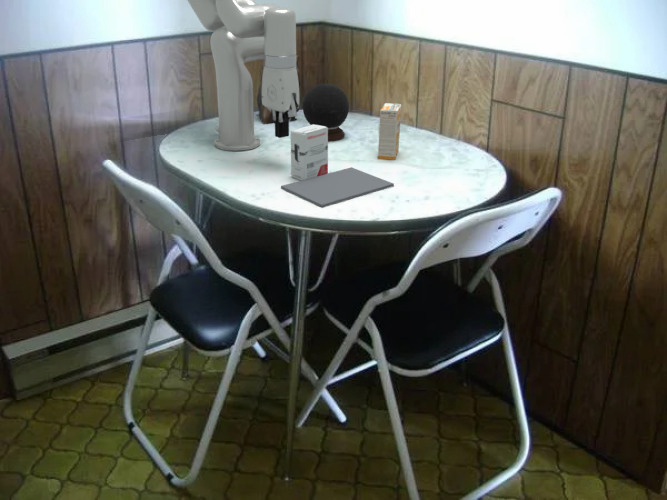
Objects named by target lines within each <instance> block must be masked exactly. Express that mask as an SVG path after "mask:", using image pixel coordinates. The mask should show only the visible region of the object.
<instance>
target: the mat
mask: <svg viewBox="0 0 667 500" xmlns="http://www.w3.org/2000/svg"><path fill="white" fill-rule="evenodd" d="M394 184H395V183H393V182H390V181H388V180H385V179H384V178H383V179H382V178H380V177H377V176H375V175H373V174H370V173H368V172H365V171H362V170H360V169H357V168H355V167H348V168H343V169H340V170H337V171H333V172H328V173H327V174H324V175H320V176H317V177H313V178H309V179H305V180H299V181H295V182H290V183H287V184H283V185H281V186H280V189H282V190H284V191H286V192H288V193H290V194H293V195H295V196H297V197H298V198H300V199H303V200H305V201H307V202H310V203H311V204H313V205H316V206H318V207H320V208H325V207H328V206H332V205H335V204H338V203H341V202H346V201H348V200H351V199H354V198H359V197H362V196H365V195H369V194H371V193H374V192H378V191H381V190H385V189H389V188H392V187H394Z"/></svg>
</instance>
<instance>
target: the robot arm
mask: <svg viewBox="0 0 667 500" xmlns="http://www.w3.org/2000/svg"><path fill="white" fill-rule="evenodd" d="M187 1H188V3H189V5H190V7H191V9H192V11H193V12H194V13H195V15H196V18H198V21H199V23H201V25H202V26H203V28H204V29H206V30H207V31H208V32H210V33H211V32H212V34H211V37H210V42H209V43H210V49H211V54H212V58H213V62H214V69H215V70H214V71H215V78H216V93H217V109H218V110H217V111H218V126H215V131H216V132H218V137H217V138H215V139H214V140H213V143H214V147H216V148H217V149H220V150H224V151H232V152H234V151H235V152H237V151H249V150H252V149H255V148H259V146H260V145H261V139H260V138H259V137H258V136H255V115H254V114H255V111H254V108H255V107H254V86H253V85H254V83H253V78H252V77H253V76H252V75H251V72H250V71H249V70H248V68H247V67H246V65H245V63H248V62H249V63H250V62H256V61H262V60H264V59H265V66H264V69H263V76H262V104H263V105H264V106H265V107H267V109H268V110H270V111H271V112H272V114H273V119H274V121H275V123H274V136H275V137H276V138H279V139H281V138H282V139H283V138H286V137H289V136H290V122H291V121H290V118H291V117H294V116H295V117H297V113H298V112H297V113H296V110H297V109H298V108H299V109H300V87H299V83H298V75H297V69H296V56H297V22H296V21H297V18H296V17H297V15H296V11H295V10H294V9H293V8H291V7H285V6H283V7H282V6H280V5H277V4H274V3H256V2H255V0H187Z"/></svg>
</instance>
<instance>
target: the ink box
mask: <svg viewBox="0 0 667 500" xmlns="http://www.w3.org/2000/svg"><path fill="white" fill-rule="evenodd" d="M290 169H291V170H290V171H291V173H290V174H291V176H290V177H291V178H292V179H293V178H294V179H296V180H299V181H301V180H305V179H309V178H313V177H317V176H320V175H324V174H328V173H329V142H328V128H327V127H325V126H320V125H314V124H313V125H310V124H309V125H307V126H303V127H300V128H295V129H292V130H290Z"/></svg>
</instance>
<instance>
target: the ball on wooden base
mask: <svg viewBox="0 0 667 500" xmlns="http://www.w3.org/2000/svg"><path fill="white" fill-rule="evenodd" d="M349 103H350V102H349V100H348V97H347V95H346V93H345V92H344V91H343V90H342V89H341V88H340V87H339V86H337V85H336V84H331V83H319V84H317V85H314V87H312V88H310V89H309V90H308V91H307V93H306V95H305V97H304V99H303V102H302V111H303V112H302V113H303V115H304V118H305V120H306V122H307V123H309V126H310V125H313V124H314V125H320V126H325V127H327V128H328V143H329V142H338V141H341V140H343V139H345V136H346V133H345V132H344V130H343V129H342V128H340V126H342V124H344V123H345V121H346V120H347V118H348V115H349V110H350V104H349Z"/></svg>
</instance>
